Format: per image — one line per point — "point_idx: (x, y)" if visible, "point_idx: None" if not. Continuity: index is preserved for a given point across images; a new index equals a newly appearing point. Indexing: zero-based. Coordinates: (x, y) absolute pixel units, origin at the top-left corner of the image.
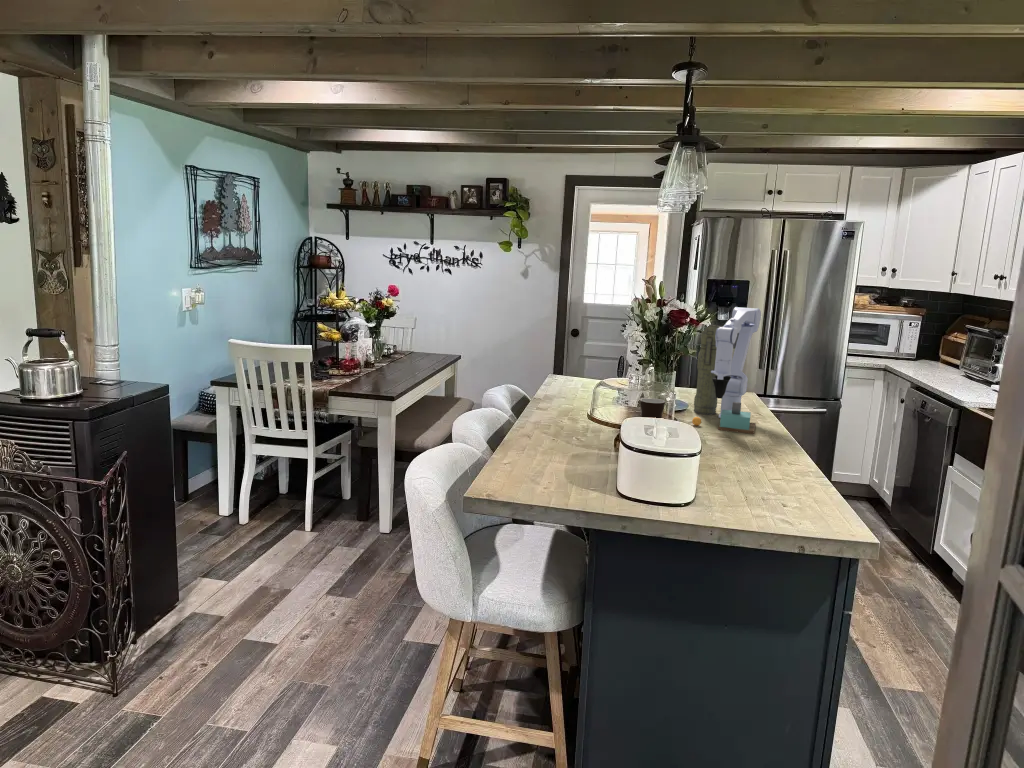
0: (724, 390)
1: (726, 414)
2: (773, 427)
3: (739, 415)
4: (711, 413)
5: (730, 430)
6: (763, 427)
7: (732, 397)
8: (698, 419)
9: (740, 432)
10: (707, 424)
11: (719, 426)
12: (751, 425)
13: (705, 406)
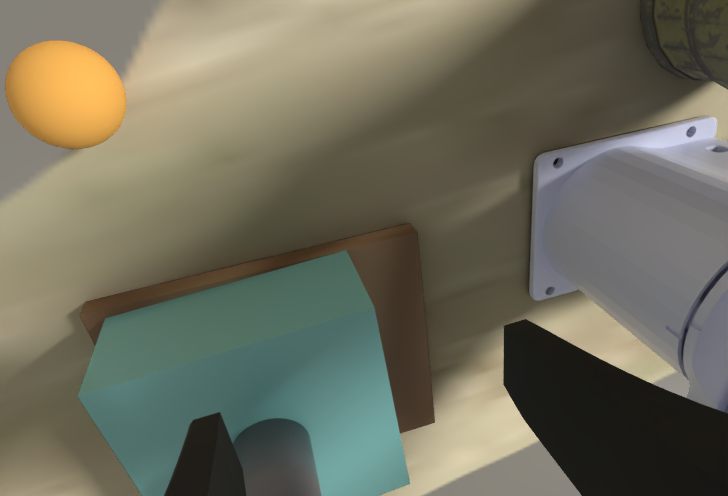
0: (548, 438)
1: (153, 419)
2: (446, 474)
3: None
4: (661, 59)
5: None
6: (413, 447)
7: (671, 346)
8: (32, 132)
9: None
10: (227, 161)
11: (116, 312)
12: None
13: (701, 4)
